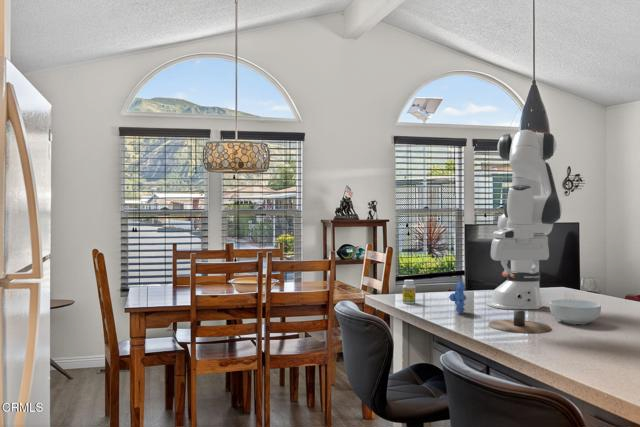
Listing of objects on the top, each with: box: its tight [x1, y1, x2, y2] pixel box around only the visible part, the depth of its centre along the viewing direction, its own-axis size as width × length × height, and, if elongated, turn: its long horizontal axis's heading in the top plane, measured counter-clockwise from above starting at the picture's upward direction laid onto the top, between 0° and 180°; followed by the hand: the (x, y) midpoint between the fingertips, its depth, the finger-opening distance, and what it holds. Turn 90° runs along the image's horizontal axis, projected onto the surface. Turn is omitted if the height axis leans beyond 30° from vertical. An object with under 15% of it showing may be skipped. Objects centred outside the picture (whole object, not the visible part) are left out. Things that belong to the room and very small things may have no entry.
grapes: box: [448, 281, 467, 315], centre depth 230 cm, size 12×7×12 cm, turn 169°
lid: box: [488, 309, 552, 334], centre depth 203 cm, size 20×20×6 cm
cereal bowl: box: [548, 298, 602, 326], centre depth 212 cm, size 17×17×7 cm
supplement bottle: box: [402, 279, 416, 305], centre depth 253 cm, size 5×5×10 cm
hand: (520, 273), depth 203 cm, fingers open, 8 cm apart
